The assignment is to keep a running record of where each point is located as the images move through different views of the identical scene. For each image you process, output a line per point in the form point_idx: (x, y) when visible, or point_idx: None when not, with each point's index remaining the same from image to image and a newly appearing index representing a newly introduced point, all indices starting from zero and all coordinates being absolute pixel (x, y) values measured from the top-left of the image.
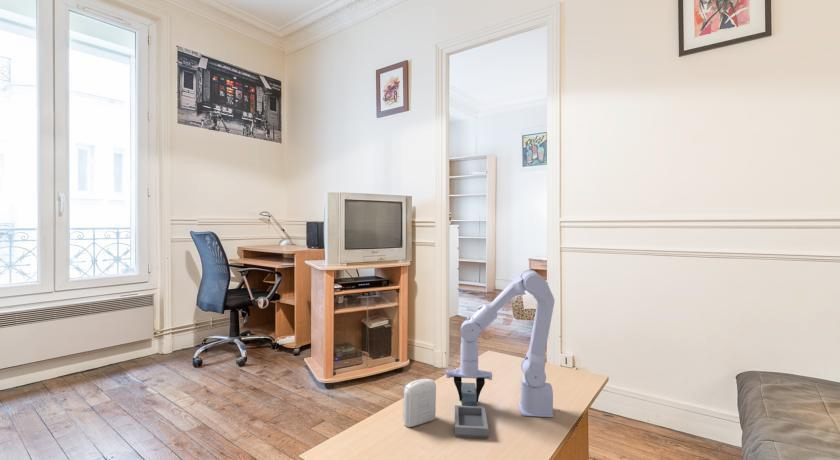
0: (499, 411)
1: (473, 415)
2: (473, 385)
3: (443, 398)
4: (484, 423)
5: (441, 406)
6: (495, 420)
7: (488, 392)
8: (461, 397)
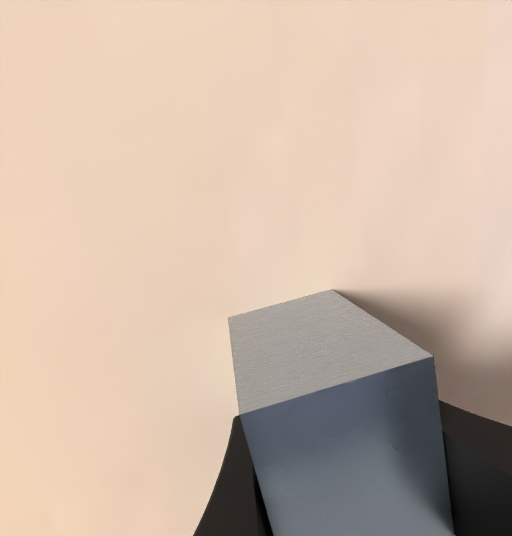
0: (494, 375)
1: None
2: (416, 436)
3: (75, 346)
4: None
5: (109, 468)
6: None
7: (425, 95)
8: None
